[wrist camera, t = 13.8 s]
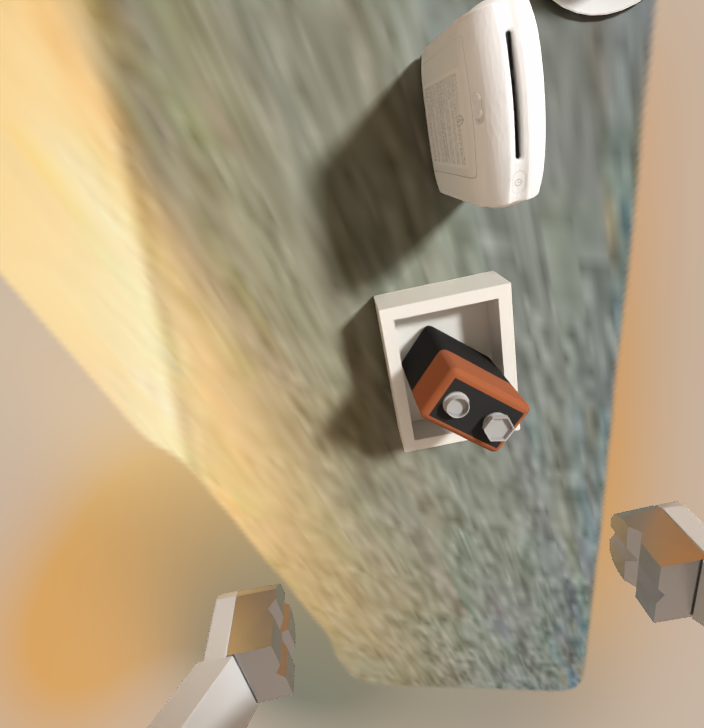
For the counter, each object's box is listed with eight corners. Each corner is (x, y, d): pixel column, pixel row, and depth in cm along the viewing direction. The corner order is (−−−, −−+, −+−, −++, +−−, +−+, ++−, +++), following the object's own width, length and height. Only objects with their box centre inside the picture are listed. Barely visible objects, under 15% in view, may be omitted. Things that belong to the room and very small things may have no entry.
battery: (462, 397, 43) (501, 463, 33) (398, 364, 41) (420, 424, 32) (491, 357, 41) (540, 415, 32) (426, 321, 39) (457, 372, 30)
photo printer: (490, 188, 37) (565, 203, 25) (434, 201, 37) (485, 222, 25) (475, 30, 32) (557, -36, 21) (413, 46, 32) (461, -12, 21)
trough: (373, 295, 39) (378, 310, 36) (493, 270, 39) (510, 282, 35) (398, 428, 45) (404, 452, 41) (503, 406, 44) (520, 429, 41)
